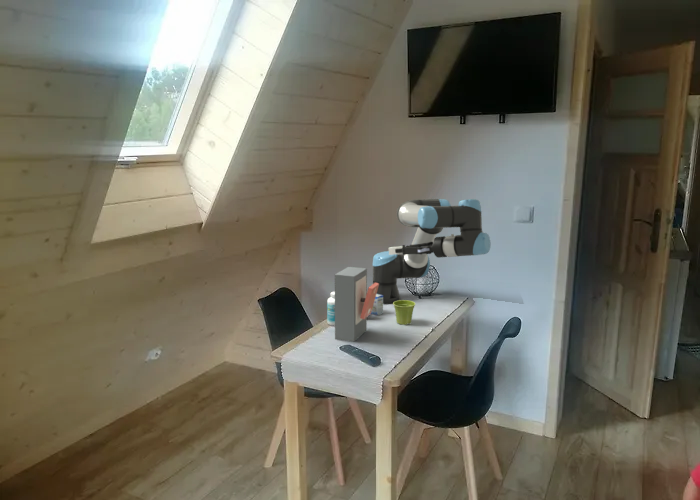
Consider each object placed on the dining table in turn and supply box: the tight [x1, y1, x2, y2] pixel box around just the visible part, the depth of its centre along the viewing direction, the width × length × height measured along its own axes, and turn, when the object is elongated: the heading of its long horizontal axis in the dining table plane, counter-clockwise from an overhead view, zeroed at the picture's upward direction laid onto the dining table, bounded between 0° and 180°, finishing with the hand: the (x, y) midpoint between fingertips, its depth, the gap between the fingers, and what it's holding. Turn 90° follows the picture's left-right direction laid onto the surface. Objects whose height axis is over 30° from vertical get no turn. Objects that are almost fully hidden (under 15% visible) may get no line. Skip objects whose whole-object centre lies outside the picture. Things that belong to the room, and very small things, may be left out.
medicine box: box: [370, 294, 384, 316], centre depth 245 cm, size 8×4×9 cm, turn 50°
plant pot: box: [392, 299, 416, 326], centre depth 232 cm, size 9×9×9 cm
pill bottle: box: [326, 291, 335, 327], centre depth 230 cm, size 8×7×14 cm
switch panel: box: [334, 266, 368, 343], centre depth 215 cm, size 14×10×26 cm
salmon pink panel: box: [360, 282, 379, 319], centre depth 212 cm, size 8×2×13 cm, turn 158°
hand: (389, 250), depth 209 cm, fingers closed
